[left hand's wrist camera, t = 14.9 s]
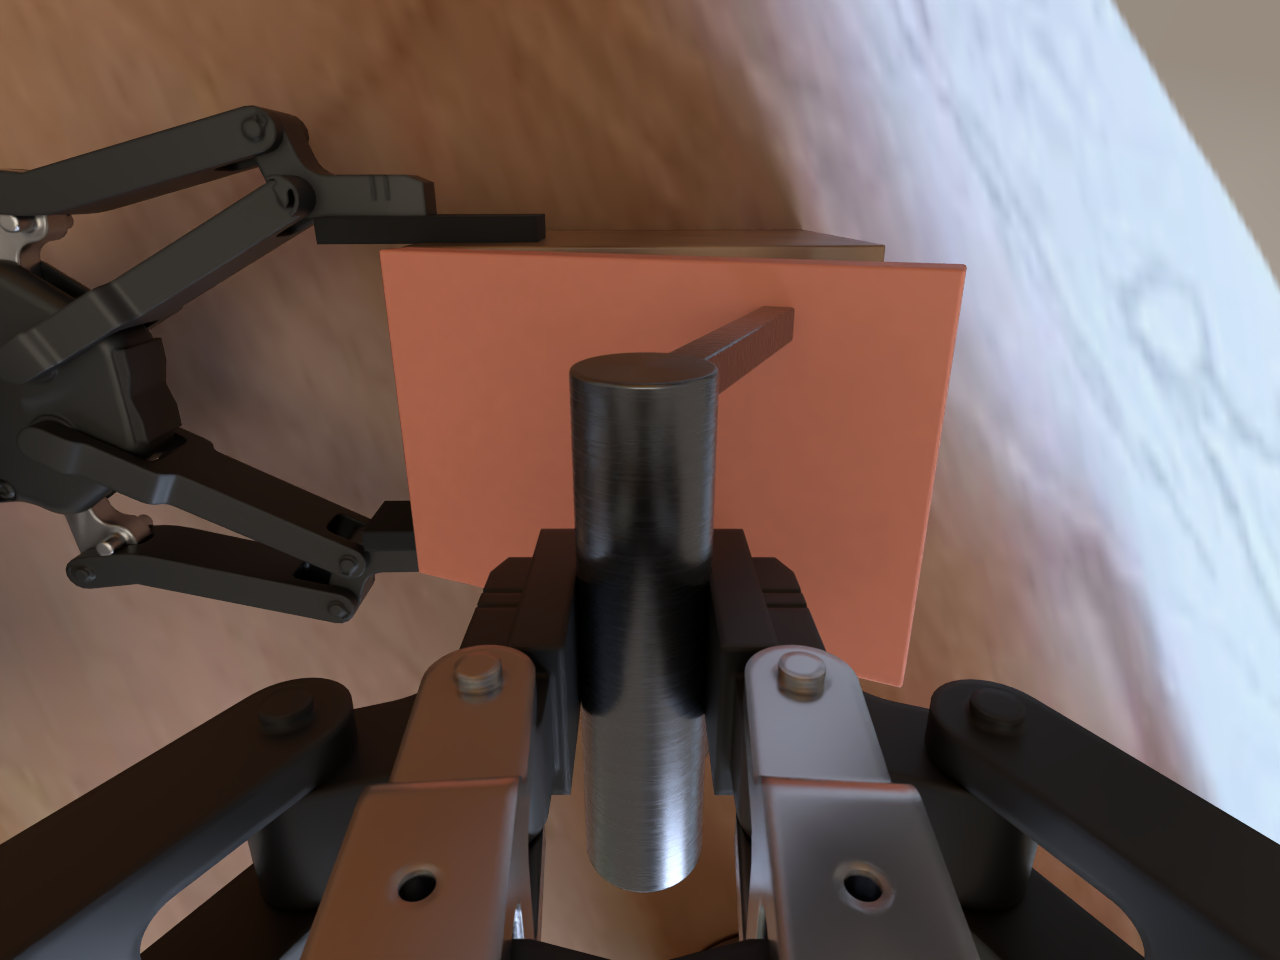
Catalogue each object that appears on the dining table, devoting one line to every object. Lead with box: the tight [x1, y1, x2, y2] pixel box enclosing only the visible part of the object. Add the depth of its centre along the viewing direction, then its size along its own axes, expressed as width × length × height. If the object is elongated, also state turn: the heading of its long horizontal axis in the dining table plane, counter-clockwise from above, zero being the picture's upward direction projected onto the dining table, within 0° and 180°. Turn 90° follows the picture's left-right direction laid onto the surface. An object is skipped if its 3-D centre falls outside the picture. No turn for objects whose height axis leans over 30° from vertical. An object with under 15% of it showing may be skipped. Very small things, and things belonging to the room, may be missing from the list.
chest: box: [402, 230, 885, 262], centre depth 27 cm, size 13×9×10 cm
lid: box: [379, 247, 967, 892], centre depth 15 cm, size 14×9×9 cm
